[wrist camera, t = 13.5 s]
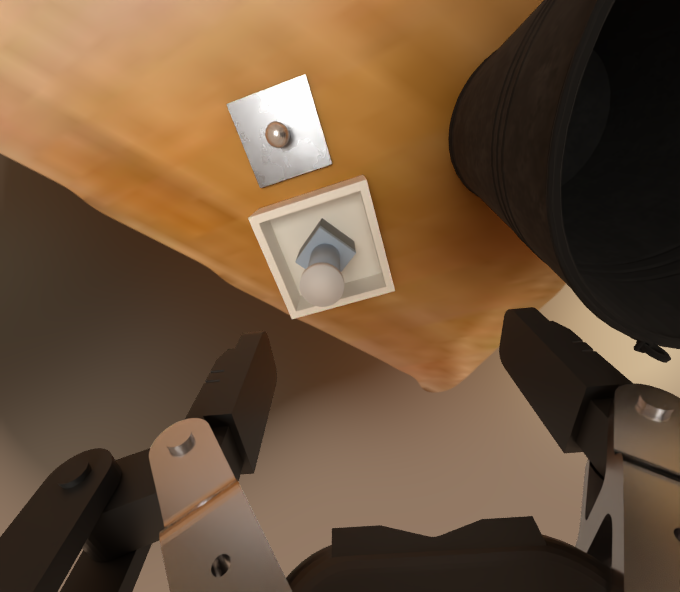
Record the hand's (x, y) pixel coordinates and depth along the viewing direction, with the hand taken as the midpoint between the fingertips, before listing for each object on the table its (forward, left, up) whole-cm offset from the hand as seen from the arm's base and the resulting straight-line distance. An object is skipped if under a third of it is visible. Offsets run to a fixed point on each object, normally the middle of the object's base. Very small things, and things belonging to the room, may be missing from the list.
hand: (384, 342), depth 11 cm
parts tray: (+6, -5, -36) cm, 37 cm away
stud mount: (-9, -6, -36) cm, 37 cm away
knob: (+6, -5, -35) cm, 36 cm away
